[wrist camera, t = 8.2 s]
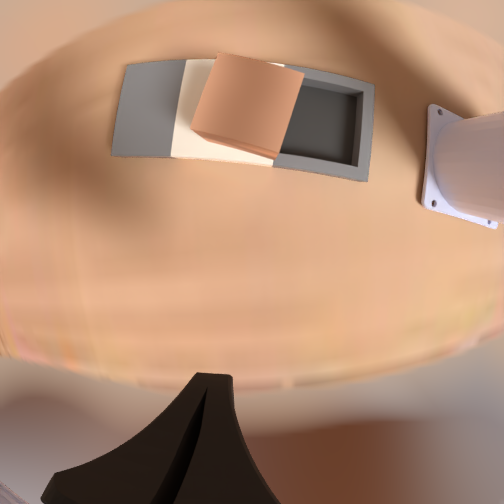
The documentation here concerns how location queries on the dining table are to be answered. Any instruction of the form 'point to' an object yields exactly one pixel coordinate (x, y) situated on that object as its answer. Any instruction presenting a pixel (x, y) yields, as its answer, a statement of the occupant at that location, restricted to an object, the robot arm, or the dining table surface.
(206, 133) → the cube
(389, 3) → the dining table surface
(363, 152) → the board
